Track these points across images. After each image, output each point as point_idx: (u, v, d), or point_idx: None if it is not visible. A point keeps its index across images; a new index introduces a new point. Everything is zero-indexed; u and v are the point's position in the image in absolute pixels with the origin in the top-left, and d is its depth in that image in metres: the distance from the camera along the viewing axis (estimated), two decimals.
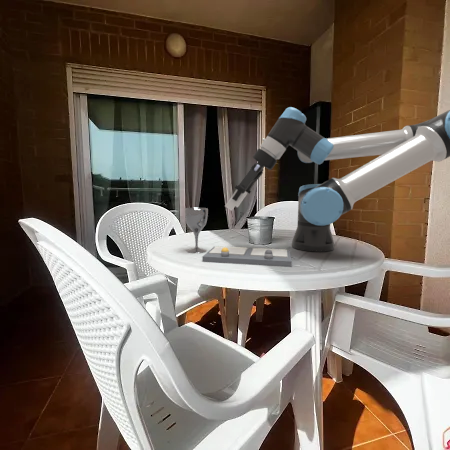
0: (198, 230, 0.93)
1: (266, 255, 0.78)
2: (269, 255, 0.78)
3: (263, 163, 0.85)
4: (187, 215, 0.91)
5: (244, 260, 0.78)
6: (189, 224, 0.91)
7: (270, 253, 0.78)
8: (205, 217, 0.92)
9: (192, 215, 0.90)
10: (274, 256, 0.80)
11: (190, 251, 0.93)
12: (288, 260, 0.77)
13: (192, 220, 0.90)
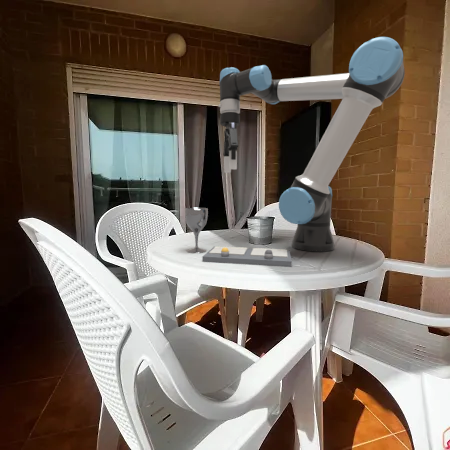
0: (198, 230, 0.93)
1: (266, 255, 0.78)
2: (269, 255, 0.78)
3: (233, 121, 0.98)
4: (187, 215, 0.91)
5: (244, 260, 0.78)
6: (189, 224, 0.91)
7: (270, 253, 0.78)
8: (205, 217, 0.92)
9: (192, 216, 0.90)
10: (274, 256, 0.80)
11: (190, 251, 0.93)
12: (288, 260, 0.77)
13: (192, 220, 0.90)
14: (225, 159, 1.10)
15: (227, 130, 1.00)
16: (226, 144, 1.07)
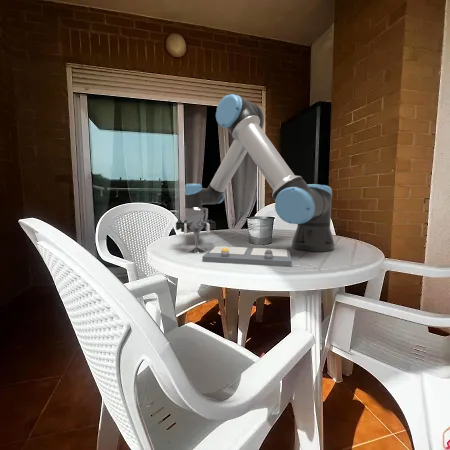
0: (198, 230, 0.93)
1: (266, 255, 0.78)
2: (269, 255, 0.78)
3: None
4: (187, 215, 0.91)
5: (244, 260, 0.78)
6: (189, 224, 0.91)
7: (270, 253, 0.78)
8: (205, 217, 0.92)
9: (192, 215, 0.90)
10: (274, 256, 0.80)
11: (190, 251, 0.93)
12: (288, 260, 0.77)
13: (192, 220, 0.90)
14: (206, 229, 0.95)
15: None
16: None
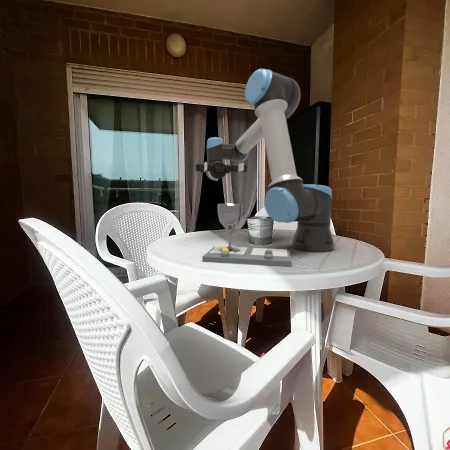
0: (232, 227, 0.86)
1: (266, 255, 0.78)
2: (269, 255, 0.78)
3: None
4: (221, 211, 0.84)
5: (244, 260, 0.78)
6: (223, 221, 0.84)
7: (270, 253, 0.78)
8: (240, 213, 0.85)
9: (226, 212, 0.83)
10: (274, 256, 0.80)
11: None
12: (288, 260, 0.77)
13: (227, 216, 0.83)
14: (238, 170, 1.05)
15: None
16: (230, 170, 1.10)
